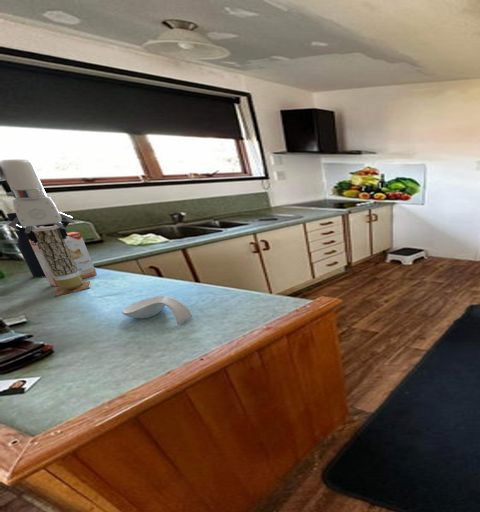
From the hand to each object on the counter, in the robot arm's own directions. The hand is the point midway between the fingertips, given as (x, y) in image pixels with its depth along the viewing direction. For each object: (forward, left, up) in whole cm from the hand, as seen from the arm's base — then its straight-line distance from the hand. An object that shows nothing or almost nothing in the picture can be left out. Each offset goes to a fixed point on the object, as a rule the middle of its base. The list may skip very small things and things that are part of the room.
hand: (50, 240), depth 107 cm
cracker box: (0, +14, -22) cm, 26 cm away
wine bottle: (-11, +36, -22) cm, 43 cm away
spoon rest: (+22, -57, -22) cm, 65 cm away
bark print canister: (0, 0, -20) cm, 20 cm away
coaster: (0, 0, -22) cm, 22 cm away
